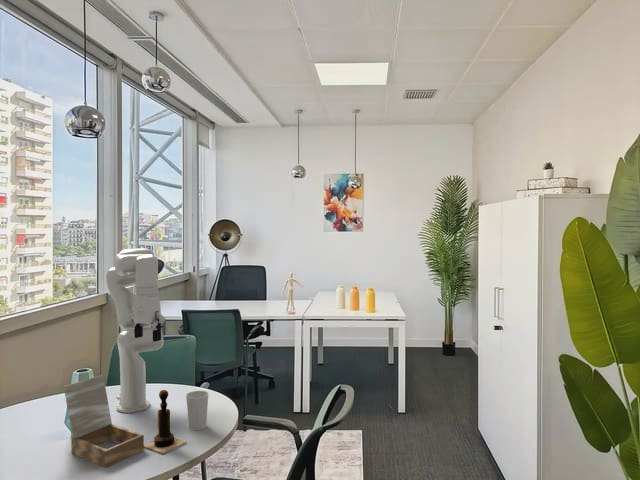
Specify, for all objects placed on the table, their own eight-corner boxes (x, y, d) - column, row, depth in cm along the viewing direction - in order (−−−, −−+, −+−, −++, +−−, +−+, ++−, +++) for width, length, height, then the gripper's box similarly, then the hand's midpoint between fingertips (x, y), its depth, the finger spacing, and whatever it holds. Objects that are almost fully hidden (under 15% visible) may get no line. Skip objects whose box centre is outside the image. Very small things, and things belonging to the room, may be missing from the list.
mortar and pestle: (156, 439, 175) (156, 387, 174) (176, 438, 176) (175, 386, 175) (152, 448, 168) (151, 394, 168) (172, 447, 169) (171, 393, 168)
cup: (203, 432, 183) (202, 398, 182) (182, 430, 184) (182, 397, 184) (212, 423, 191) (211, 391, 190) (192, 421, 192) (191, 390, 192)
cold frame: (64, 450, 168) (63, 385, 167) (102, 435, 180) (101, 374, 179) (106, 467, 157) (104, 397, 156) (143, 449, 169) (143, 385, 168)
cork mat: (142, 447, 170) (142, 445, 170) (166, 436, 179) (166, 434, 179) (163, 454, 165) (162, 452, 165) (186, 443, 174) (186, 441, 174)
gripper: (122, 290, 183) (123, 338, 184) (155, 294, 174) (155, 344, 175) (139, 288, 189) (140, 334, 190) (172, 291, 180) (172, 340, 181)
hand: (147, 339), depth 182 cm, fingers open, 9 cm apart
